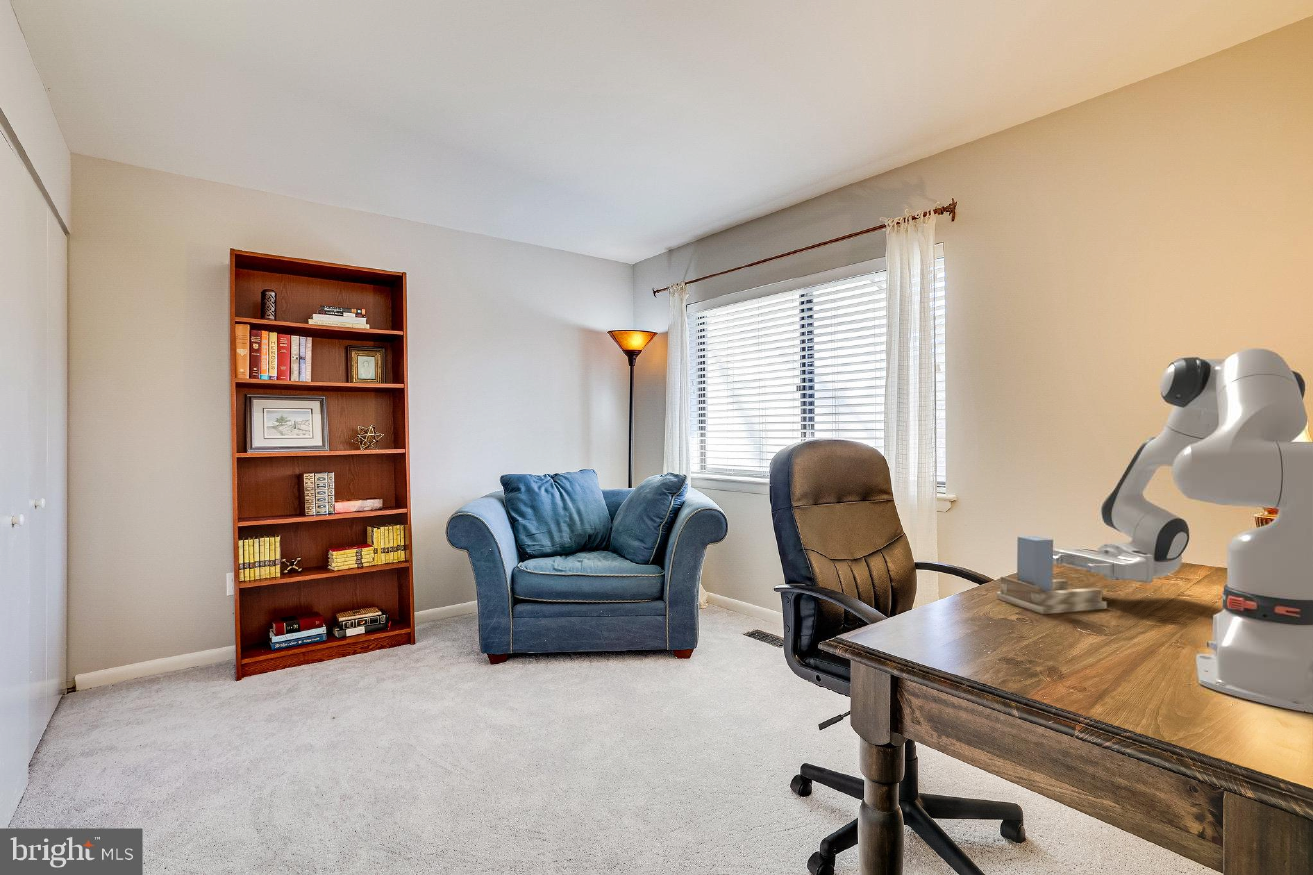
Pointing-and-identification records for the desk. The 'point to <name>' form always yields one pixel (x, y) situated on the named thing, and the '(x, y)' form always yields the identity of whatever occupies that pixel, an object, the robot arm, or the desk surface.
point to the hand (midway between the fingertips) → (1071, 564)
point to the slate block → (1035, 561)
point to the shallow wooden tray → (1050, 597)
